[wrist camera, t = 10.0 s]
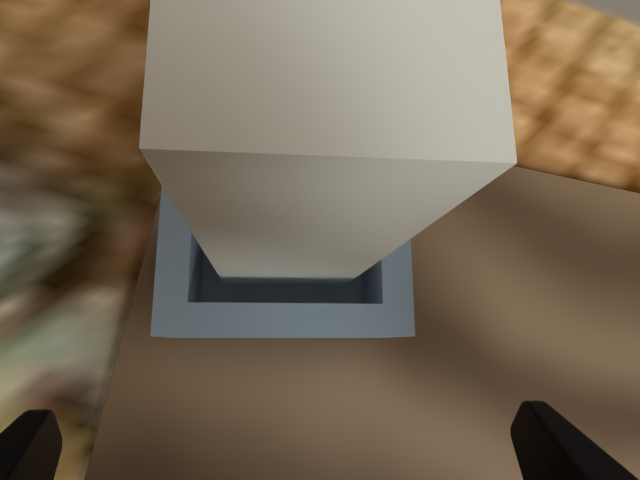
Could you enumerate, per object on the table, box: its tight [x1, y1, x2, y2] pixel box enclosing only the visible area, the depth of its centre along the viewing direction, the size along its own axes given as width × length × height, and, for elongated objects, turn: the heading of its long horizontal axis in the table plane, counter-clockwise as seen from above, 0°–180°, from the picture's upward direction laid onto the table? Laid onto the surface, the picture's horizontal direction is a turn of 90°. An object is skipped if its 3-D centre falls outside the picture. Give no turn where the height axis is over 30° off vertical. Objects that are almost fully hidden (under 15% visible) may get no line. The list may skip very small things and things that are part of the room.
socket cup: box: [150, 186, 415, 338], centre depth 17 cm, size 8×8×4 cm
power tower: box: [139, 0, 517, 287], centre depth 12 cm, size 5×4×12 cm
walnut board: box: [84, 166, 640, 480], centre depth 19 cm, size 17×22×1 cm
